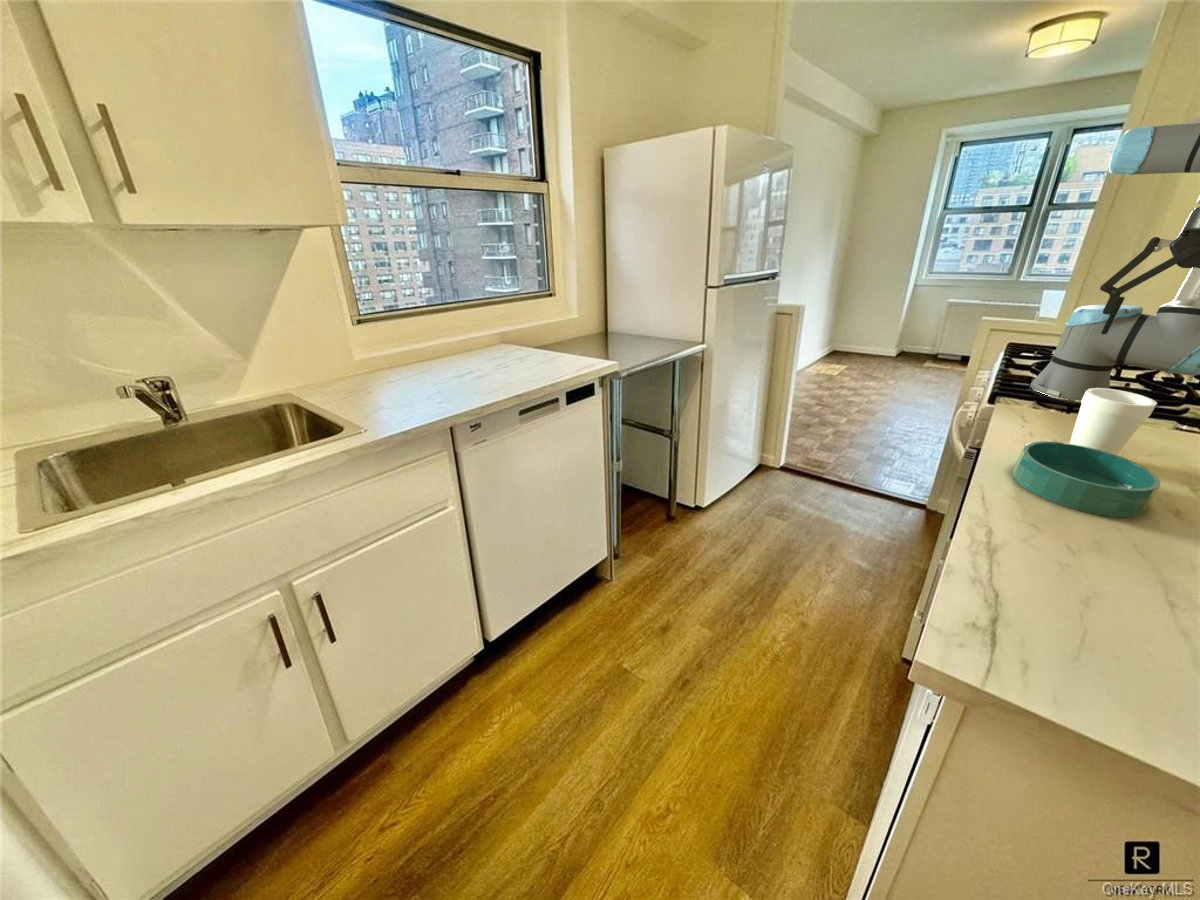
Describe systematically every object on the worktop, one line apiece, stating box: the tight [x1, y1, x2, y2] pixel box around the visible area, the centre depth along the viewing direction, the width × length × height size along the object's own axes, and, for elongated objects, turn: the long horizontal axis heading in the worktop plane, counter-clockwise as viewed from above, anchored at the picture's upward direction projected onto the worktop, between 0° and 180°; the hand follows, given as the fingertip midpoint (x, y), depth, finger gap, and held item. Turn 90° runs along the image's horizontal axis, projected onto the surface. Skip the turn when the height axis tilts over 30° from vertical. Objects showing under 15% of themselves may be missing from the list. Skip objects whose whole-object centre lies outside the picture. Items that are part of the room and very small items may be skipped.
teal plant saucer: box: [1012, 440, 1162, 518], centre depth 84 cm, size 17×17×5 cm
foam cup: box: [1069, 388, 1158, 456], centre depth 92 cm, size 10×9×13 cm
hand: (1156, 341), depth 85 cm, fingers open, 13 cm apart
